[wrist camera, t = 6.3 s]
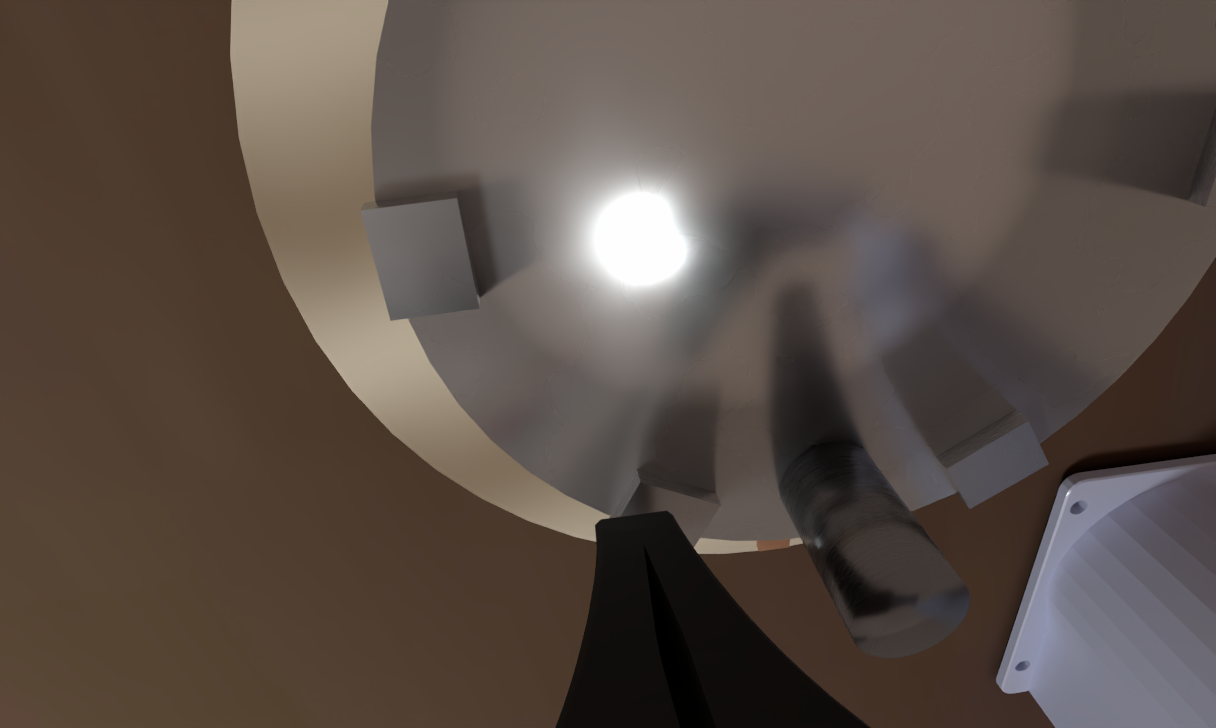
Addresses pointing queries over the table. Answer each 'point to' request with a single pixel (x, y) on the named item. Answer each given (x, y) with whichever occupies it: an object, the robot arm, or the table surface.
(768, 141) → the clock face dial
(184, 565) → the table surface
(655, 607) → the robot arm
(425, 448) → the base plate
